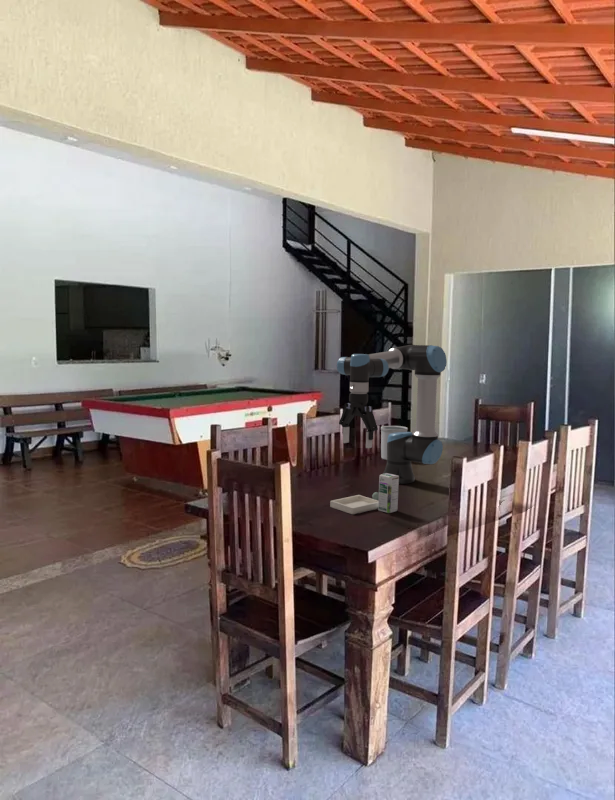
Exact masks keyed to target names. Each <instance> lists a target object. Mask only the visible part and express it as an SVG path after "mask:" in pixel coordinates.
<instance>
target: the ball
mask: <svg viewBox="0 0 615 800" xmlns="http://www.w3.org/2000/svg"><path fill="white" fill-rule="evenodd" d="M371 497H372V498H371V499H374V500H378V501H379V491H378V492H377V491H376V492H373V494H372V495H371Z"/></svg>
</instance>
